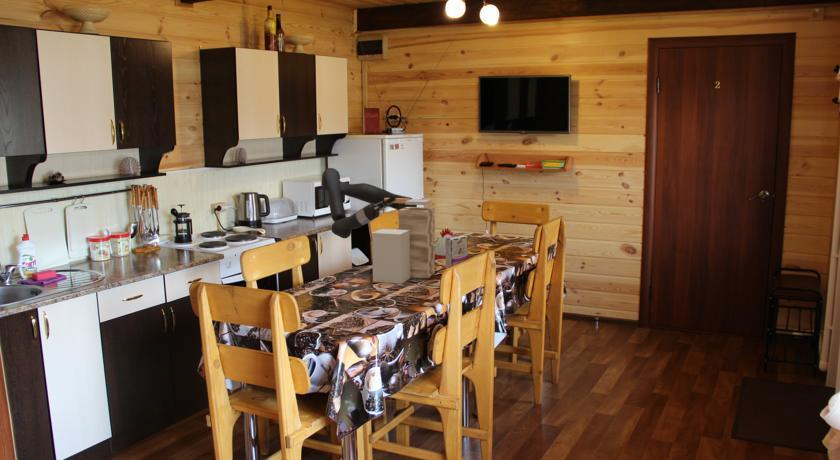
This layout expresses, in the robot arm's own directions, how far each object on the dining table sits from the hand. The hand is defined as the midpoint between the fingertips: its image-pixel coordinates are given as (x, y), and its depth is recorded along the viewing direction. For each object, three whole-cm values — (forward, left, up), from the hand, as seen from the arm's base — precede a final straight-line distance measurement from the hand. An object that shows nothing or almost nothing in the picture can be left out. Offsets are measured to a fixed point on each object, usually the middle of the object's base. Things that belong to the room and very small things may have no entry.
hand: (395, 197), depth 355 cm
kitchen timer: (-47, +10, -37) cm, 61 cm away
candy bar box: (-16, +25, -37) cm, 48 cm away
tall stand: (0, +10, -37) cm, 39 cm away
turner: (0, +6, -2) cm, 7 cm away
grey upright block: (+13, +2, -37) cm, 39 cm away
